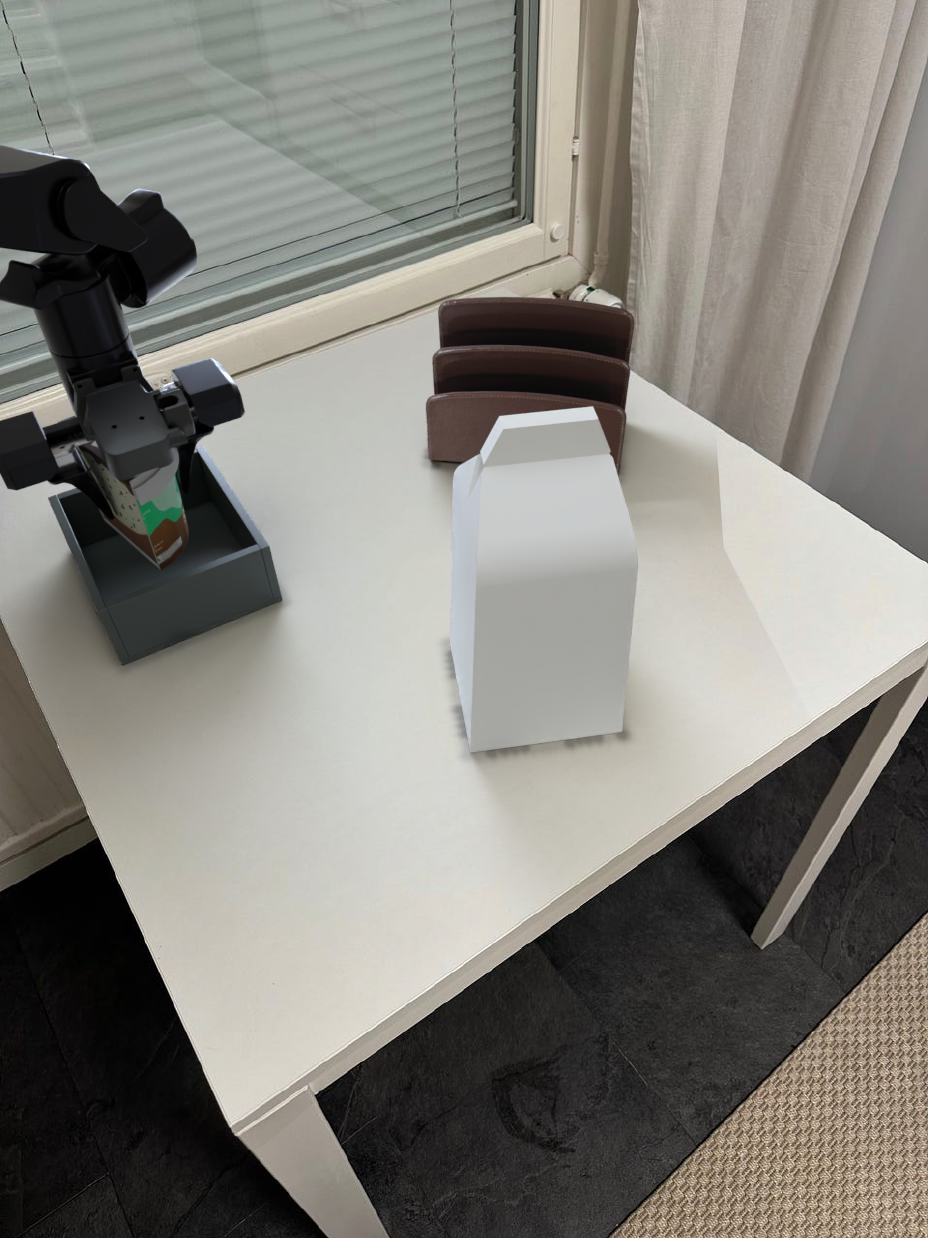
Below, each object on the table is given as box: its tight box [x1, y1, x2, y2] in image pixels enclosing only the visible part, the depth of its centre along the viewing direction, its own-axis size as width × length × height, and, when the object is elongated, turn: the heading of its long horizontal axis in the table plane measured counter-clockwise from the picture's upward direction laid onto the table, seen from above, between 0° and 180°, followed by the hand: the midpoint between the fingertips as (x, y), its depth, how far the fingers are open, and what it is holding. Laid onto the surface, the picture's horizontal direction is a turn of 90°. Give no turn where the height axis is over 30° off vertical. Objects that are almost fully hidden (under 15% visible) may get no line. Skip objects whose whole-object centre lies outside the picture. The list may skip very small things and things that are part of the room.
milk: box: [449, 406, 639, 754], centre depth 63 cm, size 12×12×26 cm
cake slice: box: [57, 414, 189, 570], centre depth 75 cm, size 12×6×10 cm, turn 45°
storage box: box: [47, 445, 283, 666], centre depth 80 cm, size 15×17×7 cm
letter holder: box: [425, 296, 635, 474], centre depth 90 cm, size 10×20×14 cm, turn 82°
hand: (148, 504), depth 76 cm, fingers closed on cake slice, 6 cm apart
